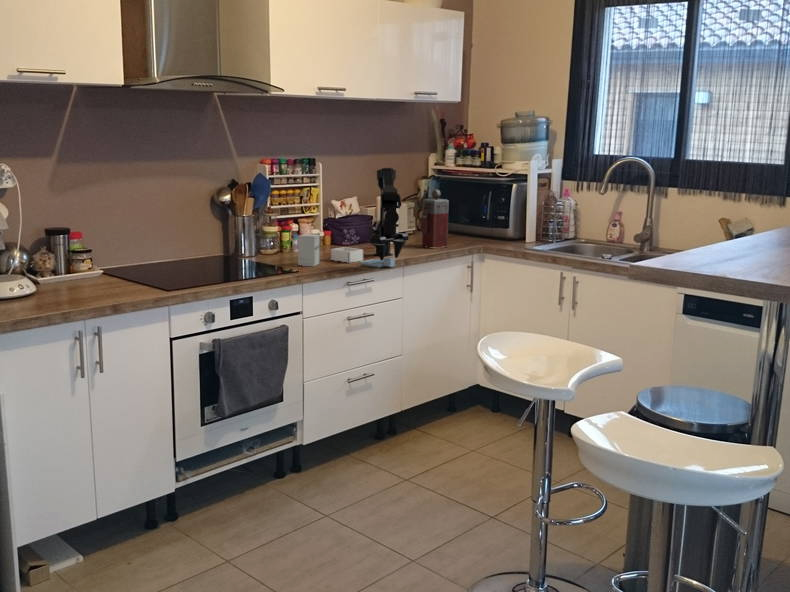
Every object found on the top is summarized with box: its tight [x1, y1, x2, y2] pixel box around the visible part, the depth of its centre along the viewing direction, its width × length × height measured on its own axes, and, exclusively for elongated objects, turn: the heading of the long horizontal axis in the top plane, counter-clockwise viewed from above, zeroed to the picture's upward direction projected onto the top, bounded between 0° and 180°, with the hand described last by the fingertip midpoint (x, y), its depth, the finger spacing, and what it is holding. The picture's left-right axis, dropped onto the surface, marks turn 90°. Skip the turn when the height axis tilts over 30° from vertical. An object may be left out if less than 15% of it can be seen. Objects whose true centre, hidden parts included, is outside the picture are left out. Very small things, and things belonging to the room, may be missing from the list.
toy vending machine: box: [420, 189, 450, 247], centre depth 387 cm, size 9×11×28 cm
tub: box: [330, 246, 364, 264], centre depth 347 cm, size 11×9×5 cm
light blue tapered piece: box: [359, 256, 396, 269], centre depth 335 cm, size 14×9×4 cm, turn 50°
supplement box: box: [297, 233, 320, 267], centre depth 334 cm, size 7×7×13 cm
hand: (389, 259), depth 331 cm, fingers open, 9 cm apart
